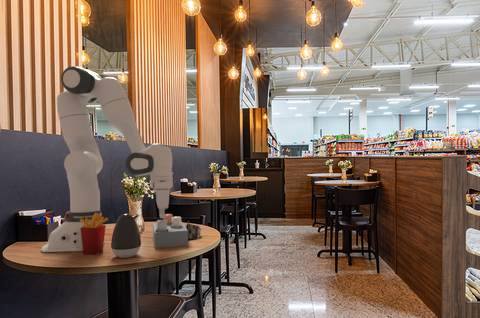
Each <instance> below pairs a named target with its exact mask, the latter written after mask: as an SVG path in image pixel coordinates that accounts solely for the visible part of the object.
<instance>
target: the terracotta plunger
mask: <svg viewBox="0 0 480 318" xmlns="http://www.w3.org/2000/svg"><path fill="white" fill-rule="evenodd" d="M172 217H173V214H172V213H165V217H164V218H162V220H167V225H170V224H172Z"/></svg>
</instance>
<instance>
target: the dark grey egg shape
mask: <svg viewBox="0 0 480 318" xmlns="http://www.w3.org/2000/svg"><path fill="white" fill-rule="evenodd" d="M138 217H139V214H138V213H136V214H134V215H132V214H129V213H123V214H121V215H119V217H118V218H117V220H116V222H115V224H114V227H113V231H112V234H111V235H112V236H111V242H110V244H111V245H110V247H111V250H112V253H113V255H114V256H116V257H117V258H121V259H128V258H132V257H135V256H136V255H137V254H138V253H139V252H140V249H141V246H142V239H141V233H140V229H139V226H138V223H137V221H136V219H137V218H138Z"/></svg>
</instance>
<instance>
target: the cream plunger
mask: <svg viewBox="0 0 480 318" xmlns="http://www.w3.org/2000/svg"><path fill="white" fill-rule="evenodd" d="M181 222H182V217H181V216H172V228H180V227H181Z"/></svg>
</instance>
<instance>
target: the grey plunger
mask: <svg viewBox="0 0 480 318" xmlns="http://www.w3.org/2000/svg"><path fill="white" fill-rule="evenodd" d="M156 223H157V232H167V220H164V219H158V220H156Z"/></svg>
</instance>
